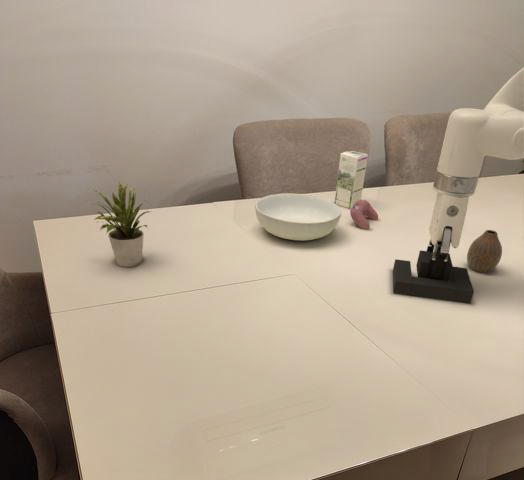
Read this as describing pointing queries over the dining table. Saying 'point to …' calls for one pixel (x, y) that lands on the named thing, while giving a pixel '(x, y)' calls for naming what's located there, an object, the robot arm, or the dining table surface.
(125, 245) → the house plant
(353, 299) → the dining table surface
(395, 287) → the notched pad
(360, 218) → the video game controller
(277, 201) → the serving bowl
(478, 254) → the vase
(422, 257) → the black block
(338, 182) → the syrup box
